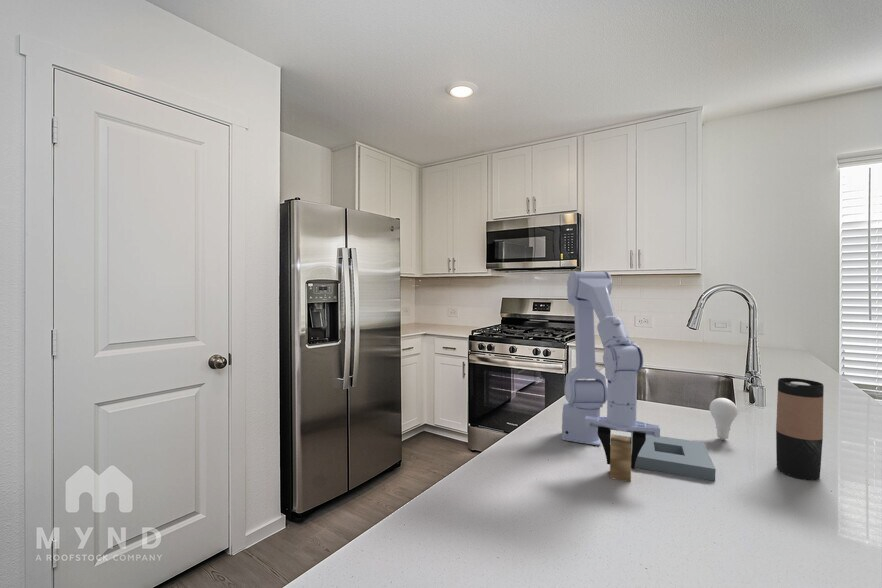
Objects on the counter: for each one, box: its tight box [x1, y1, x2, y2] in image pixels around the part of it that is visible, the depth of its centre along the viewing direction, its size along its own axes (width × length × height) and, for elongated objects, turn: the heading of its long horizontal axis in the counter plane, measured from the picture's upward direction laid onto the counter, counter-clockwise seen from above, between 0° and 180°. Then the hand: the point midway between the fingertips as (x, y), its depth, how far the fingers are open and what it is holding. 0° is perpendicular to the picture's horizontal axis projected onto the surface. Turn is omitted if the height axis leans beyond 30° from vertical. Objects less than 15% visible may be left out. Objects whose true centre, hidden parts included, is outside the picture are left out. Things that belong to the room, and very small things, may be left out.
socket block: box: [630, 432, 717, 482], centre depth 97 cm, size 16×16×2 cm
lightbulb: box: [709, 397, 739, 441], centre depth 109 cm, size 6×6×11 cm
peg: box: [609, 433, 632, 483], centre depth 88 cm, size 4×4×8 cm
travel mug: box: [775, 377, 825, 481], centre depth 90 cm, size 8×8×20 cm
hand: (620, 464), depth 88 cm, fingers closed on peg, 4 cm apart
